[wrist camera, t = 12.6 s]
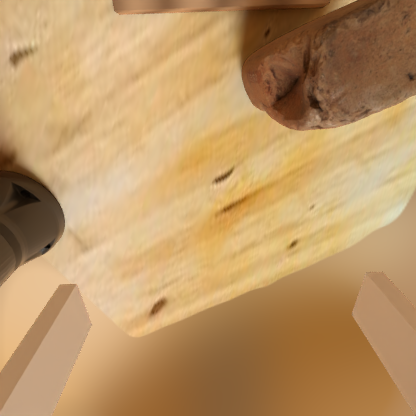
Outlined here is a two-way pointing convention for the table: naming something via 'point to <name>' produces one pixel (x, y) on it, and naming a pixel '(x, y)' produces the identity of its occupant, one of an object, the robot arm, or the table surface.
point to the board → (208, 5)
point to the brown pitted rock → (337, 66)
